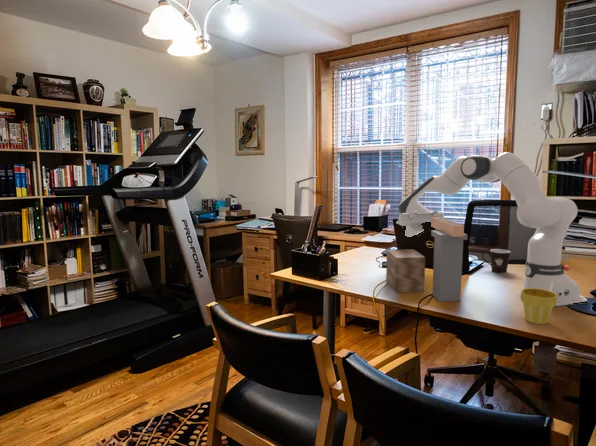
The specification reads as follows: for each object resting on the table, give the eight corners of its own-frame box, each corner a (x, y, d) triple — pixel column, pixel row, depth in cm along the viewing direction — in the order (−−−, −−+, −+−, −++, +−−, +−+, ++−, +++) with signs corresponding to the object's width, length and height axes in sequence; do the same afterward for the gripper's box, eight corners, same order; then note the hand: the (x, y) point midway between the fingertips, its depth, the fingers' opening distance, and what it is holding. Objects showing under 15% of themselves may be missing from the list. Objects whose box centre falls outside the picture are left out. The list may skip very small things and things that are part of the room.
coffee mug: (512, 271, 199) (514, 251, 198) (502, 274, 194) (504, 253, 193) (489, 266, 209) (490, 247, 207) (479, 269, 204) (480, 249, 202)
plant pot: (560, 327, 134) (562, 298, 132) (525, 325, 136) (527, 296, 134) (547, 315, 144) (550, 288, 142) (515, 314, 146) (517, 287, 144)
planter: (440, 226, 173) (441, 217, 173) (463, 236, 151) (464, 225, 151) (431, 226, 173) (431, 217, 172) (452, 236, 151) (453, 225, 151)
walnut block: (412, 281, 186) (413, 249, 184) (424, 291, 171) (425, 257, 169) (386, 281, 186) (386, 249, 184) (395, 292, 171) (396, 257, 169)
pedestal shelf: (453, 293, 169) (456, 230, 165) (464, 301, 159) (467, 234, 155) (429, 293, 168) (431, 230, 165) (438, 302, 159) (440, 235, 155)
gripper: (394, 217, 199) (401, 206, 186) (436, 217, 199) (447, 205, 186) (395, 230, 196) (403, 219, 183) (438, 229, 197) (449, 218, 184)
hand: (426, 212), depth 185 cm, fingers open, 8 cm apart
